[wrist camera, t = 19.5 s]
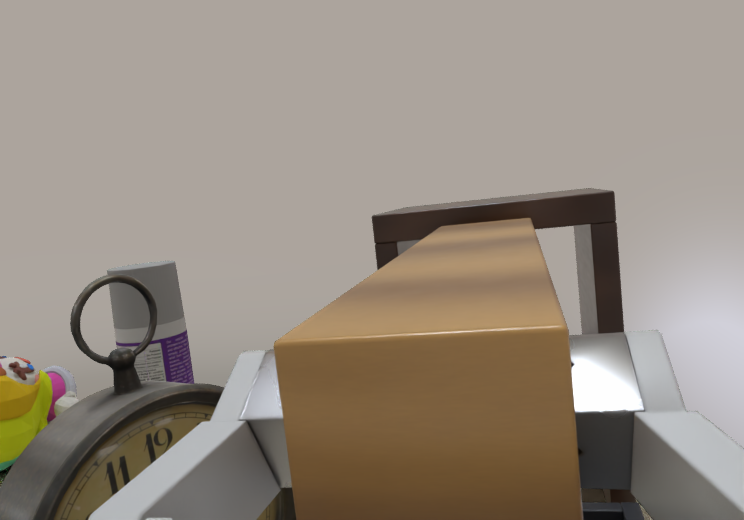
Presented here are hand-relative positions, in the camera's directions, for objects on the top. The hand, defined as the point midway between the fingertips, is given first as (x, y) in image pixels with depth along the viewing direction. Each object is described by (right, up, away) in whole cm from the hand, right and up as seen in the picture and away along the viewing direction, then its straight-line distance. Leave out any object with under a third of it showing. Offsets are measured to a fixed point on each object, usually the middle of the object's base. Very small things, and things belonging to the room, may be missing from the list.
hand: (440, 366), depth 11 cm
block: (+2, -1, +7) cm, 8 cm away
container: (-15, -14, +34) cm, 39 cm away
